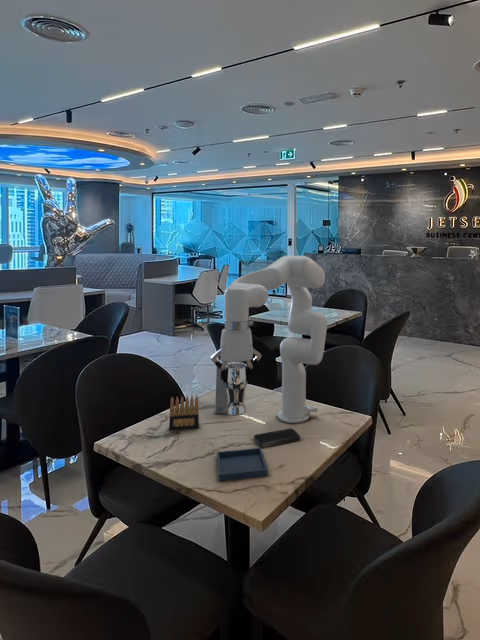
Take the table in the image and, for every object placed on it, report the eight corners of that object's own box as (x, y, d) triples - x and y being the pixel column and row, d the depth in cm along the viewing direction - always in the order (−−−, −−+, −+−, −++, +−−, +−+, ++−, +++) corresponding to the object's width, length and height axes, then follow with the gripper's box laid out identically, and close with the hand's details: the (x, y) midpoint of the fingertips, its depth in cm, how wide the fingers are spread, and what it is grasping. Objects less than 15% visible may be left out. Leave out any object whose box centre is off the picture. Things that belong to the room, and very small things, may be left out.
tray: (260, 453, 144) (261, 447, 144) (267, 475, 130) (267, 469, 130) (217, 457, 141) (217, 451, 141) (219, 481, 127) (219, 475, 127)
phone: (300, 436, 154) (260, 444, 148) (300, 440, 154) (260, 447, 148) (292, 427, 161) (253, 434, 155) (292, 431, 161) (253, 437, 155)
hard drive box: (234, 414, 176) (234, 364, 176) (214, 414, 176) (215, 364, 176) (238, 400, 192) (239, 354, 192) (220, 400, 192) (221, 354, 192)
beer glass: (249, 408, 143) (249, 362, 143) (244, 417, 136) (244, 369, 136) (228, 407, 144) (228, 362, 144) (222, 416, 137) (222, 368, 137)
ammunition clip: (198, 426, 165) (199, 394, 165) (198, 428, 163) (199, 395, 163) (169, 428, 162) (169, 396, 162) (168, 430, 160) (169, 397, 160)
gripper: (261, 322, 146) (261, 375, 146) (208, 324, 141) (208, 379, 141) (265, 326, 138) (265, 382, 138) (209, 329, 134) (208, 387, 134)
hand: (236, 380), depth 140 cm, fingers closed on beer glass, 7 cm apart
